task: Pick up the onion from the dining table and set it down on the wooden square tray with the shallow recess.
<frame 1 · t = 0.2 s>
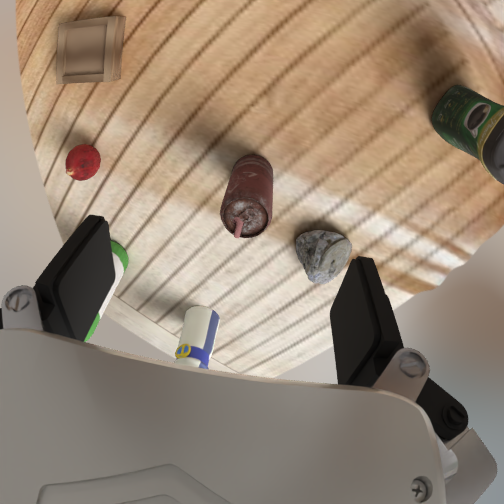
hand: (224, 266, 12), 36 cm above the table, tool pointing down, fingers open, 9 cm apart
wooden square tray: (94, 49, 36), on the table
can: (252, 172, 48), on the table
white spray bottle: (201, 317, 69), on the table
fossilized seashell: (321, 248, 56), on the table
coffee jar: (454, 113, 38), on the table
onion: (94, 153, 47), on the table
wine bottle: (113, 253, 60), on the table
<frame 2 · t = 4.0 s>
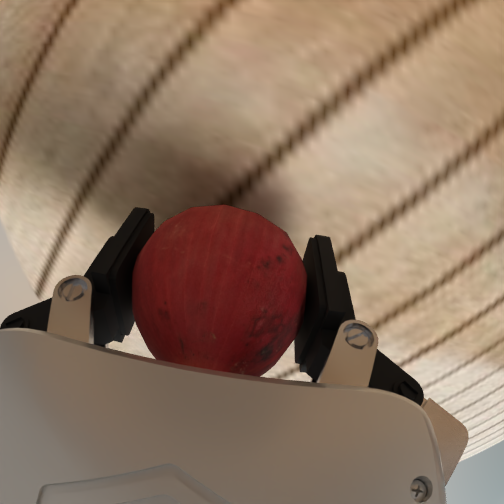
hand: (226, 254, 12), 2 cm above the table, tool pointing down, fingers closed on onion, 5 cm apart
onion: (232, 229, 14), on the table, touching gripper
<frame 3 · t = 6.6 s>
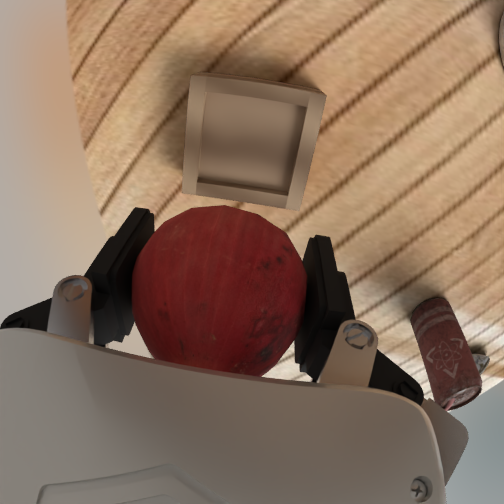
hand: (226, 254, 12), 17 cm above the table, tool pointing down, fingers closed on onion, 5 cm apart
wooden square tray: (251, 134, 26), on the table
can: (428, 311, 38), on the table
fossilized seashell: (462, 362, 46), on the table
onion: (232, 230, 14), point 15 cm above the table, touching gripper
when the fingers open (5 cm above the table, at t = 9.2 s): onion drops 1 cm, resting on wooden square tray.
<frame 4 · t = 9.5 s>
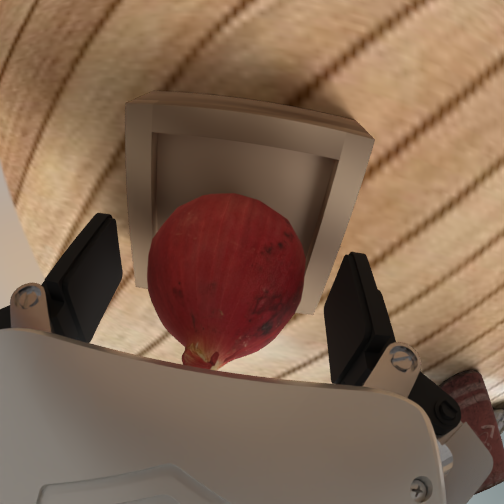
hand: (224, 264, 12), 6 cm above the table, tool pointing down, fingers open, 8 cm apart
wooden square tray: (240, 191, 17), on the table
can: (456, 382, 29), on the table
fossilized seashell: (483, 416, 37), on the table
onion: (239, 212, 15), point 2 cm above the table, touching wooden square tray
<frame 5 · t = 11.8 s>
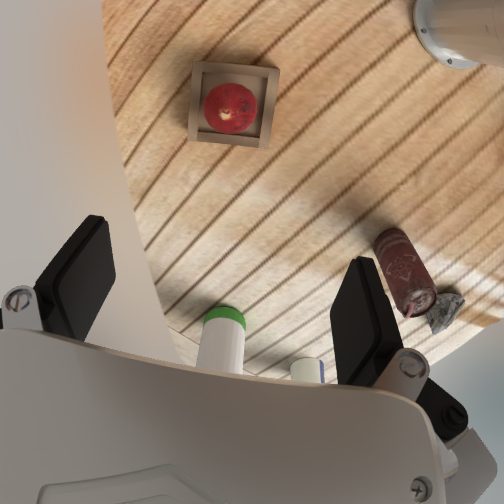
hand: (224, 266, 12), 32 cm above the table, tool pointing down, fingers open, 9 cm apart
wooden square tray: (234, 100, 37), on the table
can: (389, 243, 49), on the table
white spray bottle: (305, 366, 69), on the table
fossilized seashell: (440, 305, 57), on the table
onion: (233, 102, 35), point 2 cm above the table, touching wooden square tray
wine bottle: (225, 317, 60), on the table
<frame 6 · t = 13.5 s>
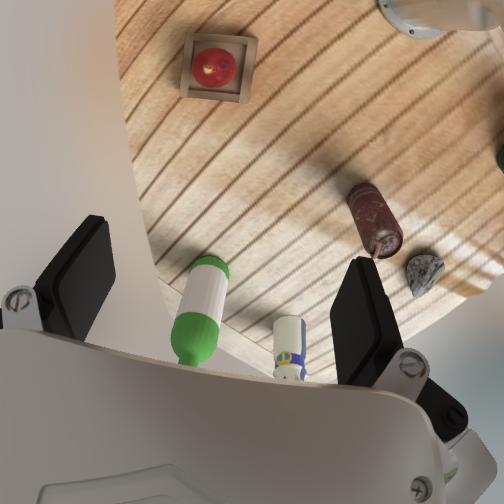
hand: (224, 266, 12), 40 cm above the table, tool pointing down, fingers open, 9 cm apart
wooden square tray: (220, 65, 41), on the table
can: (363, 198, 53), on the table
white spray bottle: (288, 325, 74), on the table
fossilized seashell: (420, 269, 62), on the table
onion: (219, 66, 40), point 2 cm above the table, touching wooden square tray
wine bottle: (211, 268, 65), on the table
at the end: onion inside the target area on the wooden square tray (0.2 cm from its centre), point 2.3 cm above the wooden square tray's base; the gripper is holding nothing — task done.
